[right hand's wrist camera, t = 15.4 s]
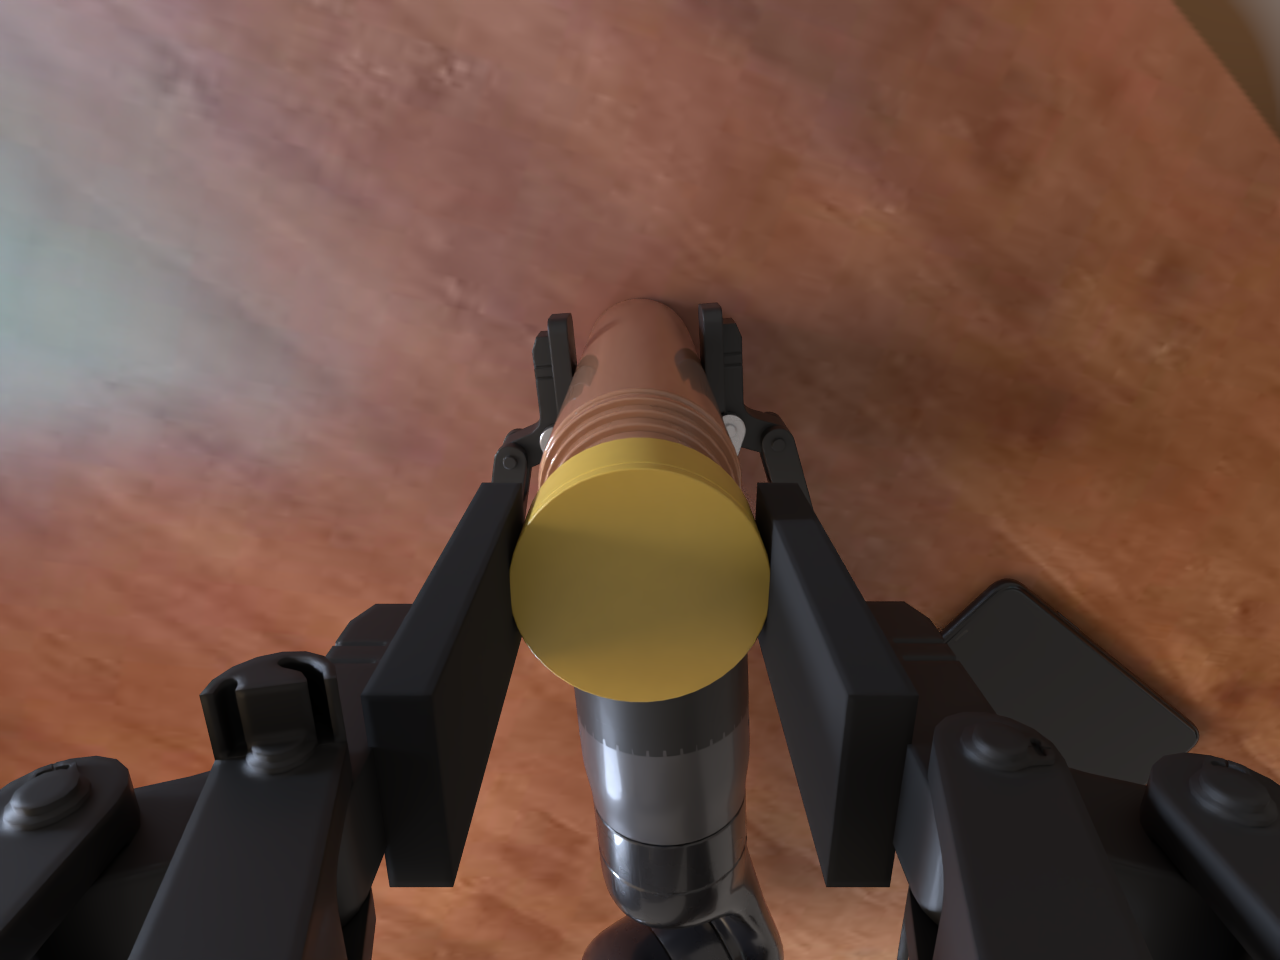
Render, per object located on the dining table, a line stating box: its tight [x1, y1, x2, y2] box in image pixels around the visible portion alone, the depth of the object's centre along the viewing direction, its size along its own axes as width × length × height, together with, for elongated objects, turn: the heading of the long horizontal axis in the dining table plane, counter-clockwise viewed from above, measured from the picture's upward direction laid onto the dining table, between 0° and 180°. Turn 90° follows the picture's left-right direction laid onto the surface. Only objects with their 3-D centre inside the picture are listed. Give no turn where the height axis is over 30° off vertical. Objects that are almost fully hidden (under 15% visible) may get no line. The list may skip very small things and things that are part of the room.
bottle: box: [538, 298, 742, 491], centre depth 24 cm, size 5×5×22 cm
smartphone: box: [940, 579, 1199, 785], centre depth 40 cm, size 8×1×16 cm
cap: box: [509, 438, 770, 702], centre depth 14 cm, size 4×4×2 cm
